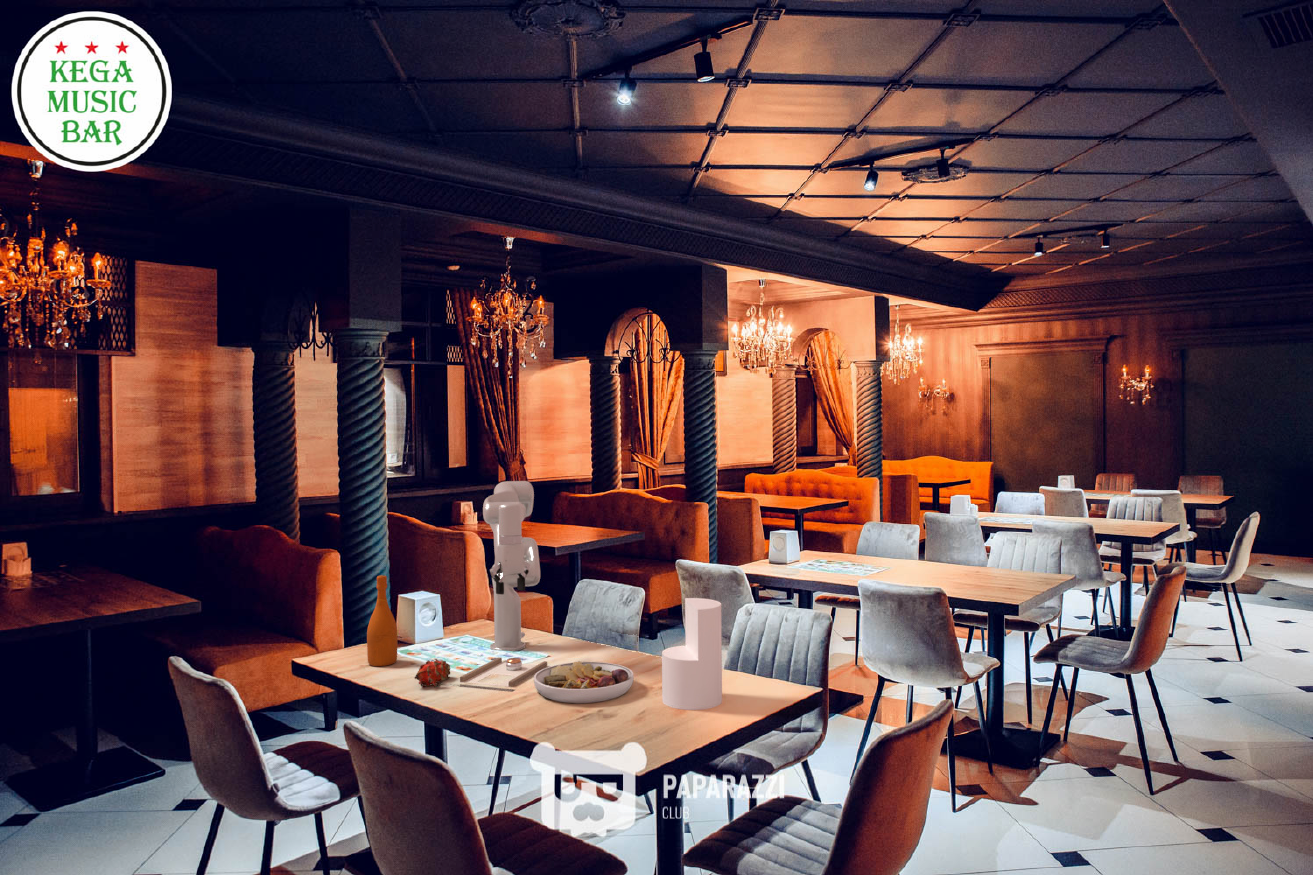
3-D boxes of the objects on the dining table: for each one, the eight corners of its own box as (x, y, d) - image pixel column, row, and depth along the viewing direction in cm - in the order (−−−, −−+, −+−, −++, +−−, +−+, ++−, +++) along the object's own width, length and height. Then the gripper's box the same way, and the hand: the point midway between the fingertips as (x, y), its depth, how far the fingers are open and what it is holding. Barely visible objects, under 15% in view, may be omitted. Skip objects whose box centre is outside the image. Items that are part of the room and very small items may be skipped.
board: (498, 666, 285) (498, 657, 285) (547, 670, 280) (547, 661, 279) (459, 686, 263) (459, 676, 262) (512, 691, 257) (512, 681, 257)
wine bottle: (403, 661, 292) (402, 574, 292) (380, 668, 284) (379, 578, 284) (384, 658, 297) (383, 572, 297) (361, 664, 289) (360, 576, 289)
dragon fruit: (454, 686, 268) (418, 699, 261) (443, 666, 273) (407, 678, 266) (458, 668, 264) (421, 681, 256) (446, 648, 268) (410, 661, 261)
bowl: (515, 700, 249) (515, 673, 249) (561, 673, 277) (561, 649, 277) (610, 711, 239) (609, 683, 239) (648, 682, 267) (647, 656, 267)
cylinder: (714, 689, 257) (713, 596, 257) (728, 707, 240) (727, 608, 240) (657, 693, 254) (656, 599, 254) (668, 711, 237) (667, 611, 237)
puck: (510, 666, 280) (510, 656, 280) (524, 667, 278) (524, 658, 278) (503, 670, 275) (503, 660, 275) (517, 671, 274) (517, 662, 274)
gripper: (520, 537, 294) (521, 587, 294) (482, 542, 280) (483, 594, 280) (536, 538, 290) (537, 589, 289) (498, 543, 276) (499, 596, 275)
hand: (510, 592), depth 285 cm, fingers open, 9 cm apart
